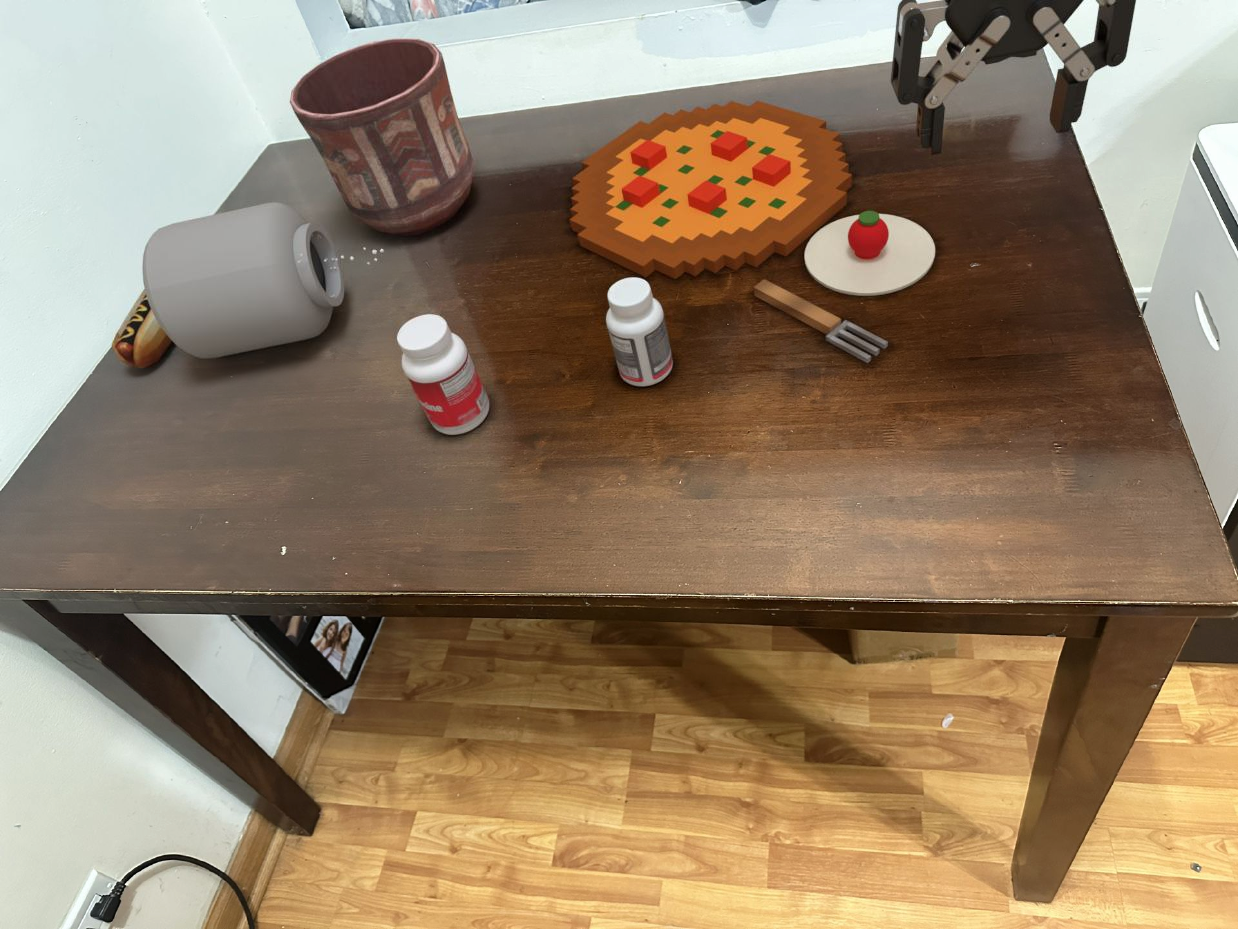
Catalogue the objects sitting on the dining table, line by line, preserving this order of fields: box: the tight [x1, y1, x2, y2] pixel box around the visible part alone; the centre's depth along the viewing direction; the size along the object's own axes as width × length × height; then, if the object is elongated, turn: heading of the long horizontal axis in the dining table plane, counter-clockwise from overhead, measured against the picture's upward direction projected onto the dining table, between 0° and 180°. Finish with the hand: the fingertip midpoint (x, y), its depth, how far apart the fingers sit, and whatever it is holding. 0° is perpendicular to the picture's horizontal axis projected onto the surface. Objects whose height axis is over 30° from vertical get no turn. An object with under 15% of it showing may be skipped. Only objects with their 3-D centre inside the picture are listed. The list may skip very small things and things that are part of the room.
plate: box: [804, 213, 936, 297], centre depth 89 cm, size 13×13×1 cm
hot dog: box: [111, 288, 173, 369], centre depth 102 cm, size 5×13×5 cm, turn 176°
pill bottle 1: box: [396, 313, 490, 436], centre depth 82 cm, size 6×6×11 cm
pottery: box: [289, 37, 474, 237], centre depth 104 cm, size 18×18×18 cm
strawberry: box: [848, 210, 889, 259], centre depth 88 cm, size 4×4×4 cm
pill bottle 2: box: [605, 276, 674, 387], centre depth 81 cm, size 5×5×10 cm
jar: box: [141, 201, 385, 360], centre depth 94 cm, size 19×15×25 cm
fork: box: [753, 278, 889, 364], centre depth 84 cm, size 15×3×1 cm, turn 41°
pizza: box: [568, 100, 853, 280], centre depth 101 cm, size 32×32×3 cm
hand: (995, 138), depth 61 cm, fingers open, 8 cm apart
